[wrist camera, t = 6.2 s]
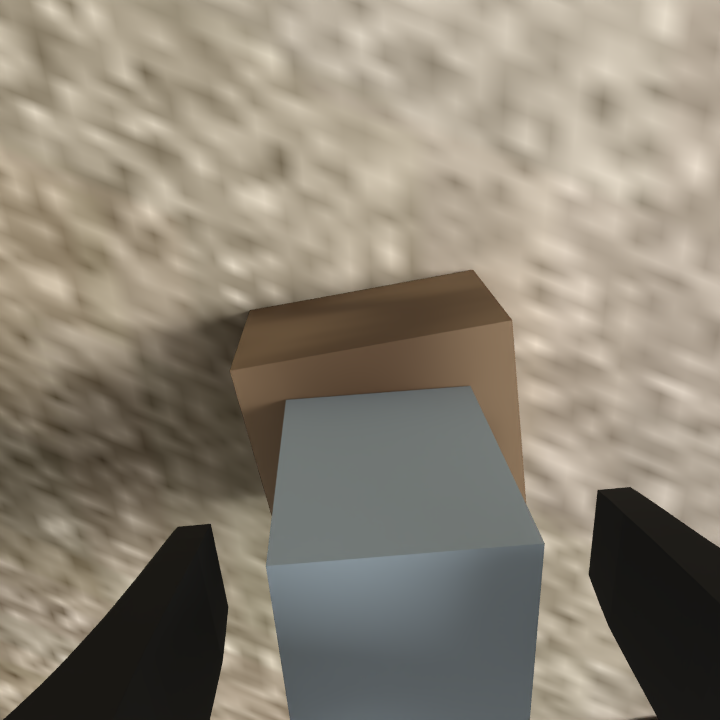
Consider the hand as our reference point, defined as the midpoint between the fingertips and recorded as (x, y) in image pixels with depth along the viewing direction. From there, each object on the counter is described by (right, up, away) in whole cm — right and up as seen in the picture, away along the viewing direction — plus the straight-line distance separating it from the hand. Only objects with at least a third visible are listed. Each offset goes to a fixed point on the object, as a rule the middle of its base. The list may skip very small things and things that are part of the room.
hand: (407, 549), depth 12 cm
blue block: (0, +1, +3) cm, 3 cm away
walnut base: (0, +3, +6) cm, 7 cm away
